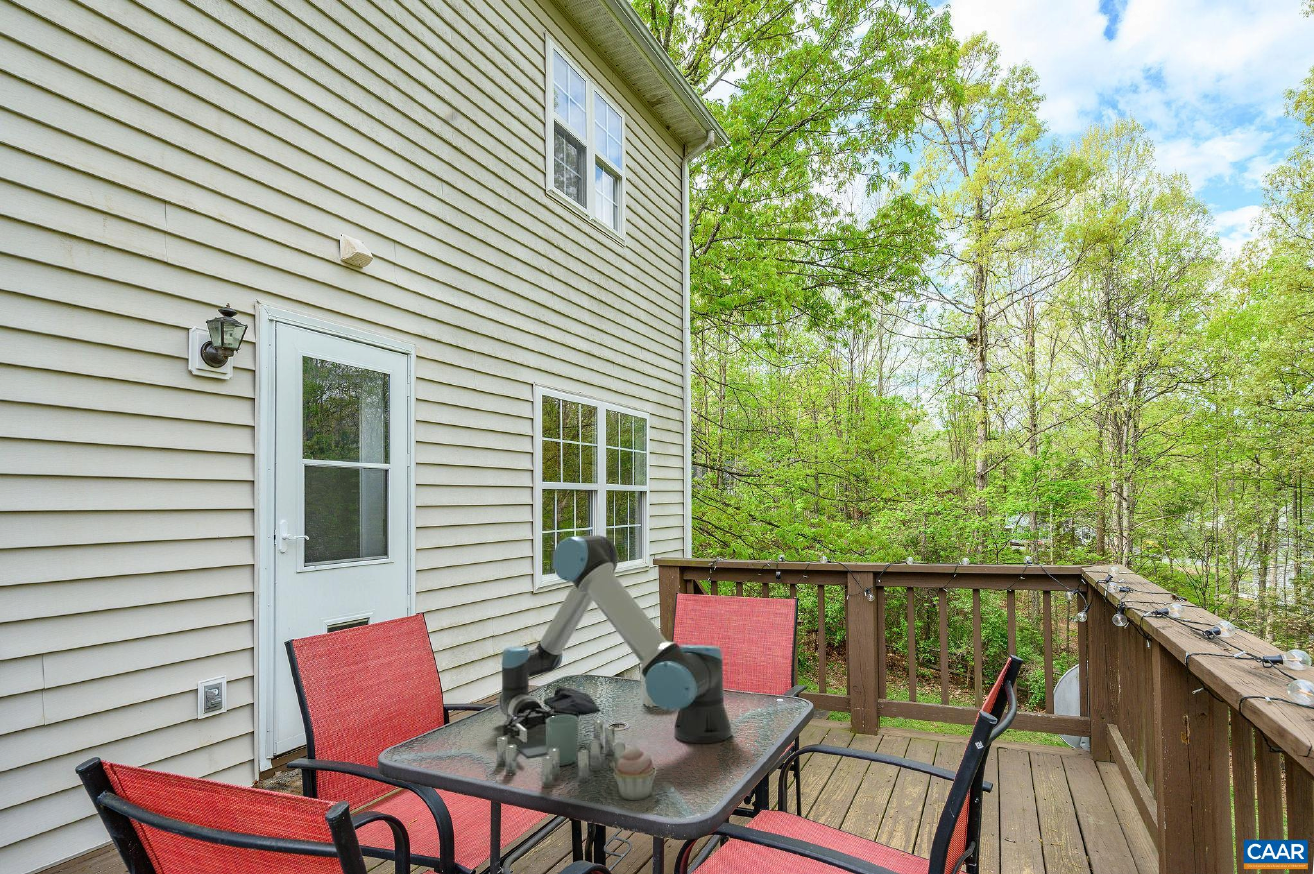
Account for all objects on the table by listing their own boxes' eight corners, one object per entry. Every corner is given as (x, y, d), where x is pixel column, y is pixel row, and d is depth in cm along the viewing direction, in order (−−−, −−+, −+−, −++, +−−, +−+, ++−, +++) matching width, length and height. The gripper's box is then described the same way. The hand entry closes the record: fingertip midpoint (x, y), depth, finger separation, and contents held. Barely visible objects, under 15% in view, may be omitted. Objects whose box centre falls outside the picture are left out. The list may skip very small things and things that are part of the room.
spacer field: (496, 763, 162) (496, 737, 163) (615, 740, 177) (615, 716, 178) (525, 795, 143) (525, 764, 143) (656, 766, 158) (655, 739, 159)
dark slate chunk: (553, 719, 201) (553, 702, 201) (542, 701, 221) (542, 686, 222) (603, 713, 205) (603, 697, 206) (588, 697, 226) (588, 682, 227)
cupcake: (662, 787, 145) (661, 738, 146) (651, 805, 136) (649, 752, 137) (621, 784, 147) (620, 736, 148) (607, 801, 138) (606, 750, 139)
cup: (552, 771, 156) (551, 725, 158) (541, 761, 163) (541, 717, 165) (583, 765, 160) (583, 720, 161) (572, 755, 167) (571, 713, 168)
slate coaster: (513, 745, 176) (513, 743, 176) (556, 737, 182) (556, 735, 182) (527, 758, 166) (527, 756, 166) (573, 749, 171) (573, 747, 171)
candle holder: (671, 707, 208) (670, 667, 210) (639, 708, 208) (639, 667, 210) (671, 699, 218) (670, 660, 220) (641, 700, 218) (640, 661, 220)
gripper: (568, 719, 191) (598, 738, 173) (479, 734, 179) (502, 756, 161) (568, 691, 192) (598, 708, 174) (480, 704, 180) (502, 723, 162)
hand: (552, 731), depth 167 cm, fingers open, 13 cm apart
